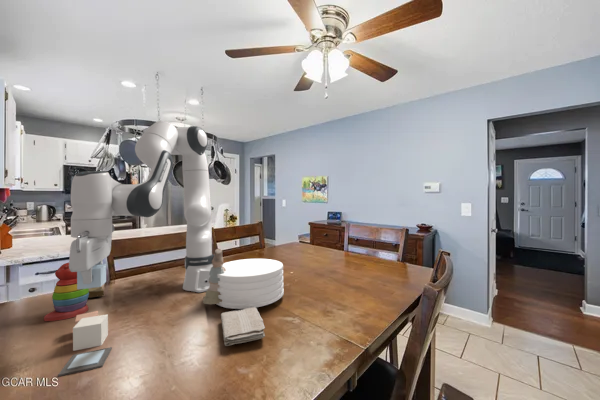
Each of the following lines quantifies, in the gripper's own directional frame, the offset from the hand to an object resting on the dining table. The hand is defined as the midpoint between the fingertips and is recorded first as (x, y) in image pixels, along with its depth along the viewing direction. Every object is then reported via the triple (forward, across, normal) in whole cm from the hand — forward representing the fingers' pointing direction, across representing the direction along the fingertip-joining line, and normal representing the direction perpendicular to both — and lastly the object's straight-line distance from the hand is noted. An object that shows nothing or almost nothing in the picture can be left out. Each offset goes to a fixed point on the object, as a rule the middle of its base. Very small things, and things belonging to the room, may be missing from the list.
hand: (92, 279), depth 70 cm
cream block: (+17, 0, 0) cm, 17 cm away
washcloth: (+18, -8, -39) cm, 44 cm away
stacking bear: (+18, +25, +13) cm, 34 cm away
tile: (+17, -10, -2) cm, 20 cm away
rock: (+19, +39, +9) cm, 44 cm away
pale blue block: (+2, 0, 0) cm, 2 cm away
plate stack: (+17, +17, -47) cm, 53 cm away
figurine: (+16, +14, -34) cm, 40 cm away
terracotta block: (+17, +7, +3) cm, 19 cm away
